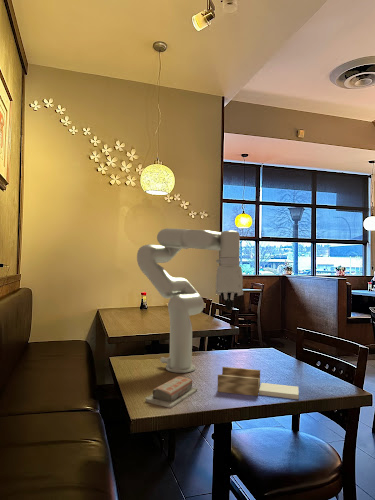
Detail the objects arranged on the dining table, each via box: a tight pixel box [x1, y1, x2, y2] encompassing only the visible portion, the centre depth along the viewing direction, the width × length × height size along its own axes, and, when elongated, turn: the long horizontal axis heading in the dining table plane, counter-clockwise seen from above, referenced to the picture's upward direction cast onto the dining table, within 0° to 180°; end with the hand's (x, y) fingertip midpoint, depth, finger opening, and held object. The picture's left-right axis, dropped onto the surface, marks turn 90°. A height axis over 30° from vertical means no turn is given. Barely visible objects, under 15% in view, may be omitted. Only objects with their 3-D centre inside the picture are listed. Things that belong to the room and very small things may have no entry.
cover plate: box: [258, 382, 300, 400], centre depth 124 cm, size 13×8×2 cm, turn 73°
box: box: [217, 366, 261, 397], centre depth 128 cm, size 14×11×6 cm
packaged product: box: [144, 375, 199, 409], centre depth 119 cm, size 18×5×10 cm
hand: (229, 310), depth 137 cm, fingers closed
